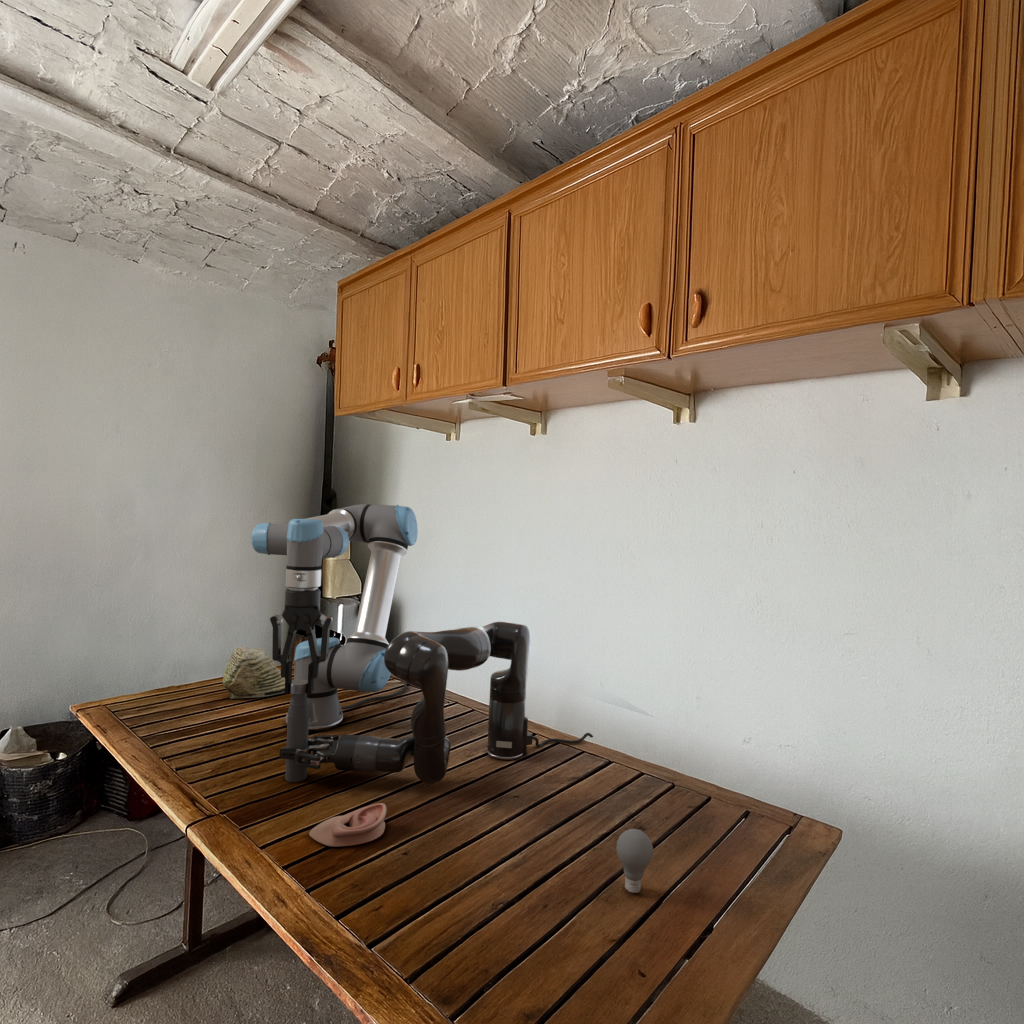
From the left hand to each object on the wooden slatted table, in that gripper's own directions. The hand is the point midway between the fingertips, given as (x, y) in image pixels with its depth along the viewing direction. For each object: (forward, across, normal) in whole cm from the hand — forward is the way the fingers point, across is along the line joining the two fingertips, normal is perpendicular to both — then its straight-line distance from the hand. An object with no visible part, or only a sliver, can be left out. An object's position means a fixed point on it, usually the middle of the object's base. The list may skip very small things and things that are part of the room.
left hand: (299, 691), depth 142 cm
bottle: (+19, 0, 0) cm, 19 cm away
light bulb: (+19, +66, -42) cm, 80 cm away
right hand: (+13, -3, 0) cm, 13 cm away
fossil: (+19, -28, +58) cm, 67 cm away
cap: (-2, 0, 0) cm, 2 cm away
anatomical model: (+19, +16, -23) cm, 34 cm away
